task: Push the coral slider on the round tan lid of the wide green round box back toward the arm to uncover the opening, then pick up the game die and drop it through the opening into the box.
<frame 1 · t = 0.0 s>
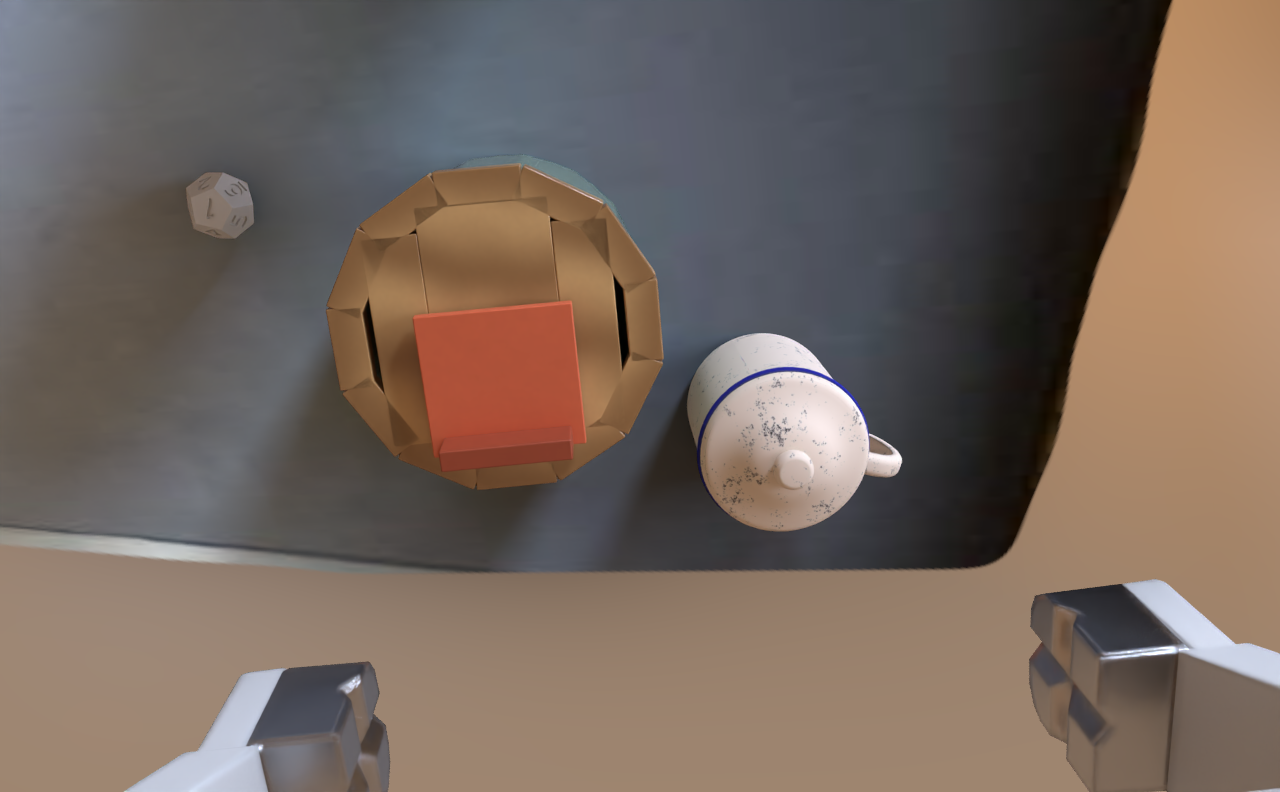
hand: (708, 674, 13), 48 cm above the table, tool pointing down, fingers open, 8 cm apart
teacup with lid: (780, 405, 63), on the table
slider: (500, 386, 47), point 14 cm above the table, slide at 0.0 cm
round tan lid: (498, 332, 49), on the green round box, point 11 cm above the table
green round box: (513, 283, 60), on the table
game die: (230, 201, 58), on the table
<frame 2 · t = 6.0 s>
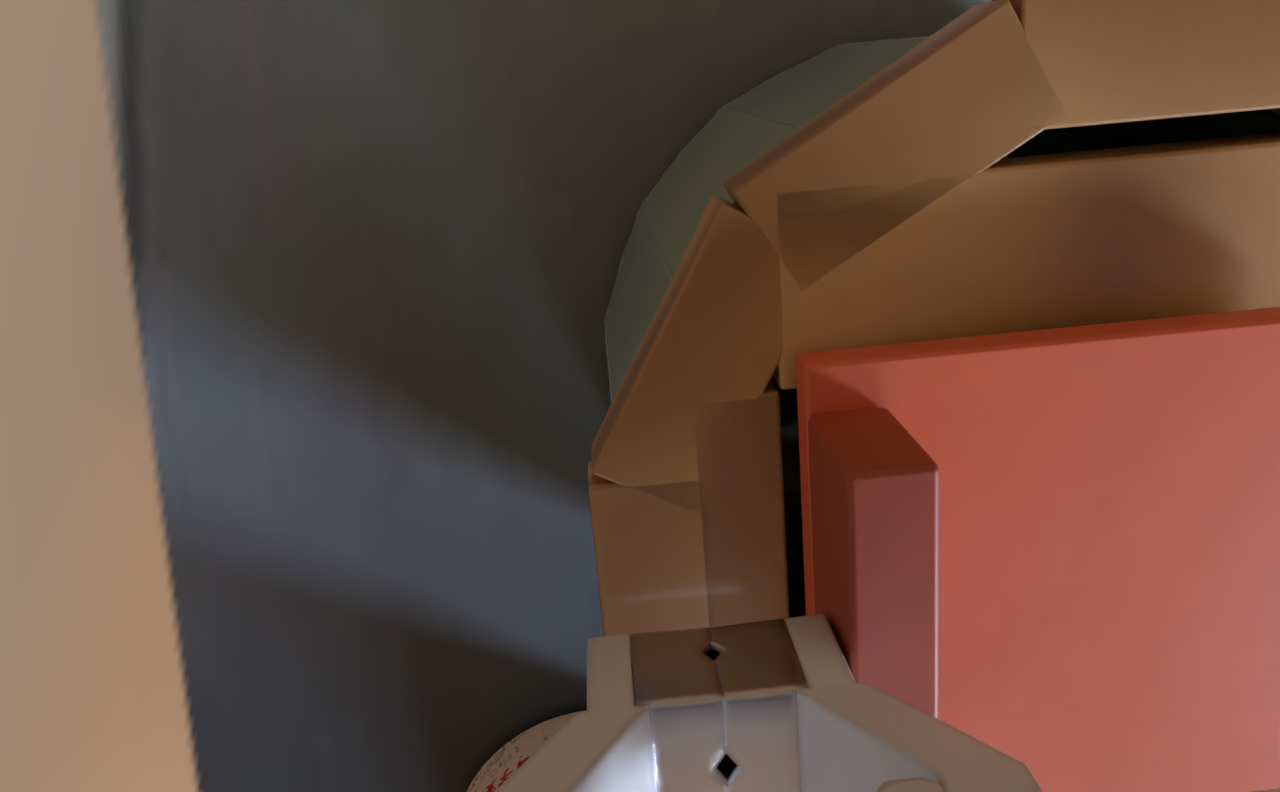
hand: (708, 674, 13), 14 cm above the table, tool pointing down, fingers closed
slider: (1097, 631, 13), point 14 cm above the table, slide at 0.6 cm, touching gripper
round tan lid: (1127, 545, 15), on the green round box, point 11 cm above the table
green round box: (896, 343, 26), on the table
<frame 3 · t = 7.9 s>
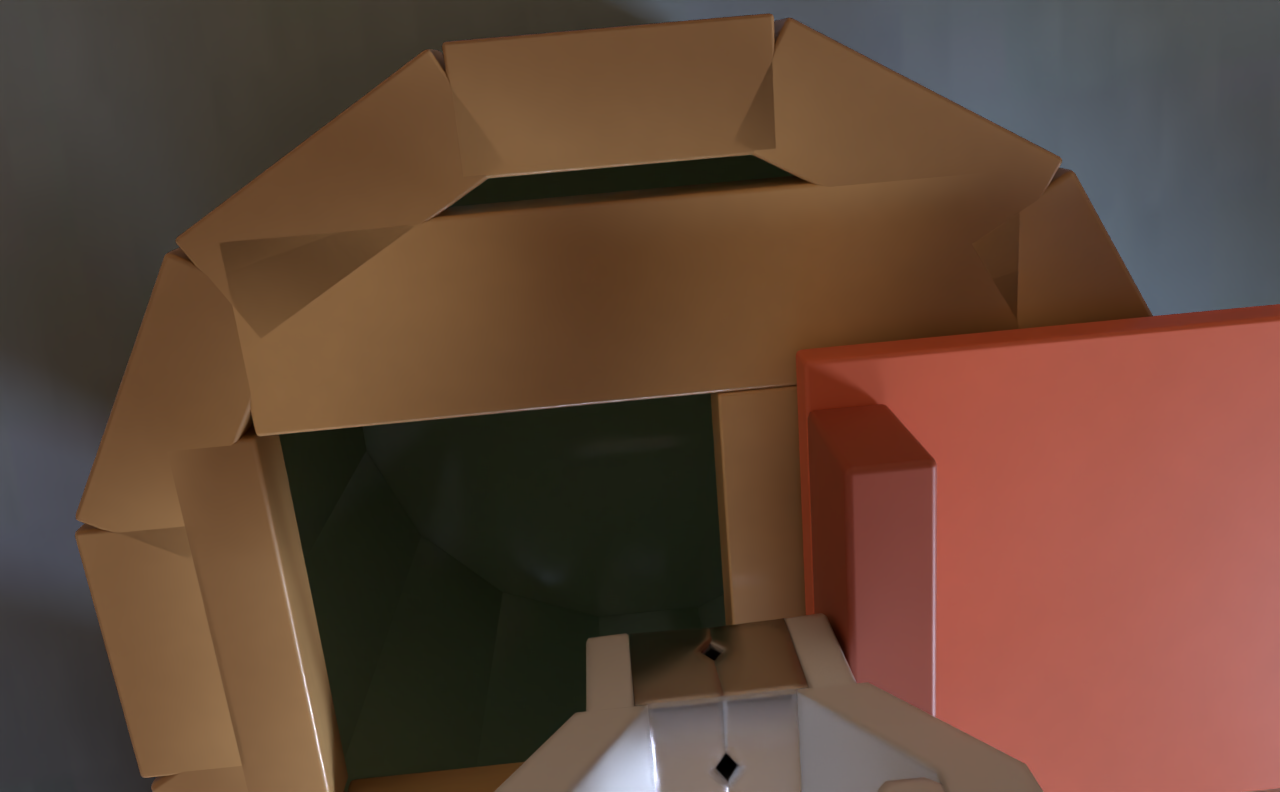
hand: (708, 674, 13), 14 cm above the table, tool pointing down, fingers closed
slider: (1094, 626, 13), point 14 cm above the table, slide at 7.4 cm, touching gripper
round tan lid: (656, 588, 15), on the green round box, point 11 cm above the table
green round box: (625, 367, 26), on the table
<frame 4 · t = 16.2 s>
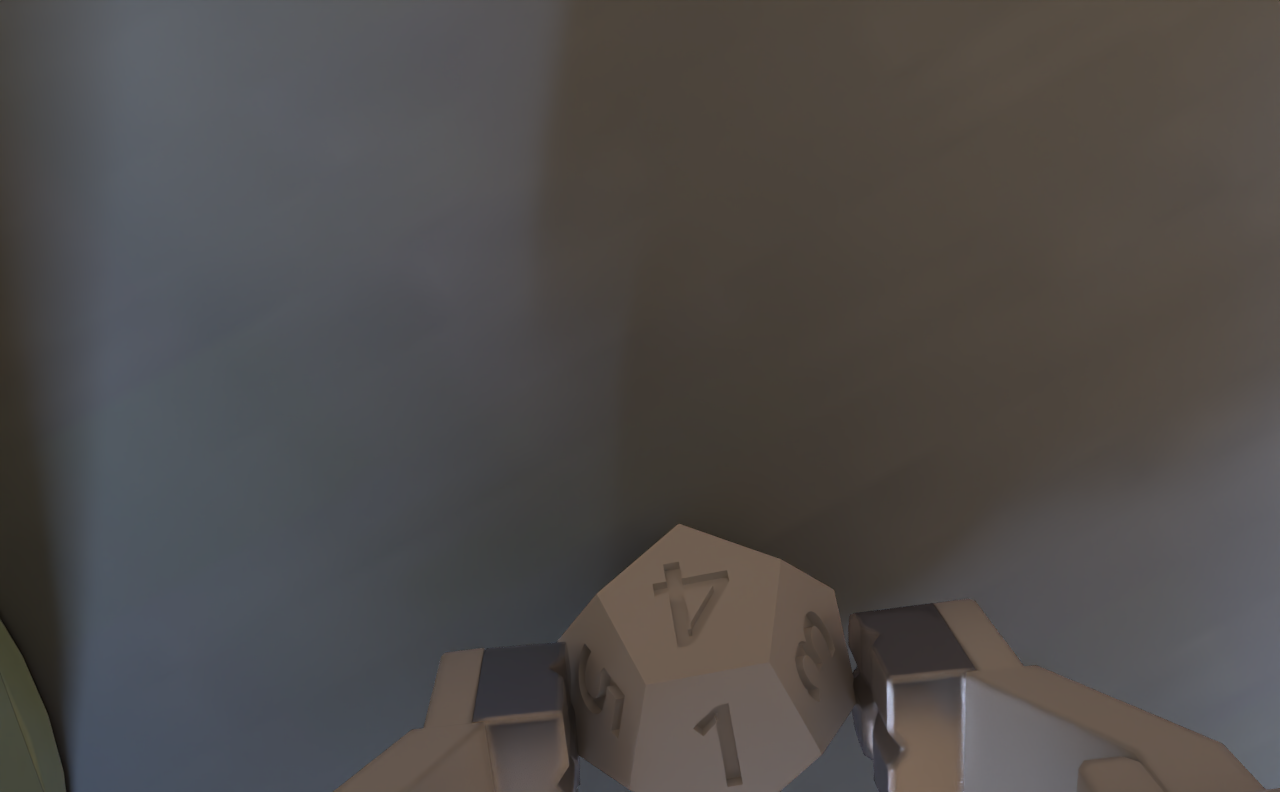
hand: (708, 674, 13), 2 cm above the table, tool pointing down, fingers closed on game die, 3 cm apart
game die: (692, 602, 15), on the table, touching gripper
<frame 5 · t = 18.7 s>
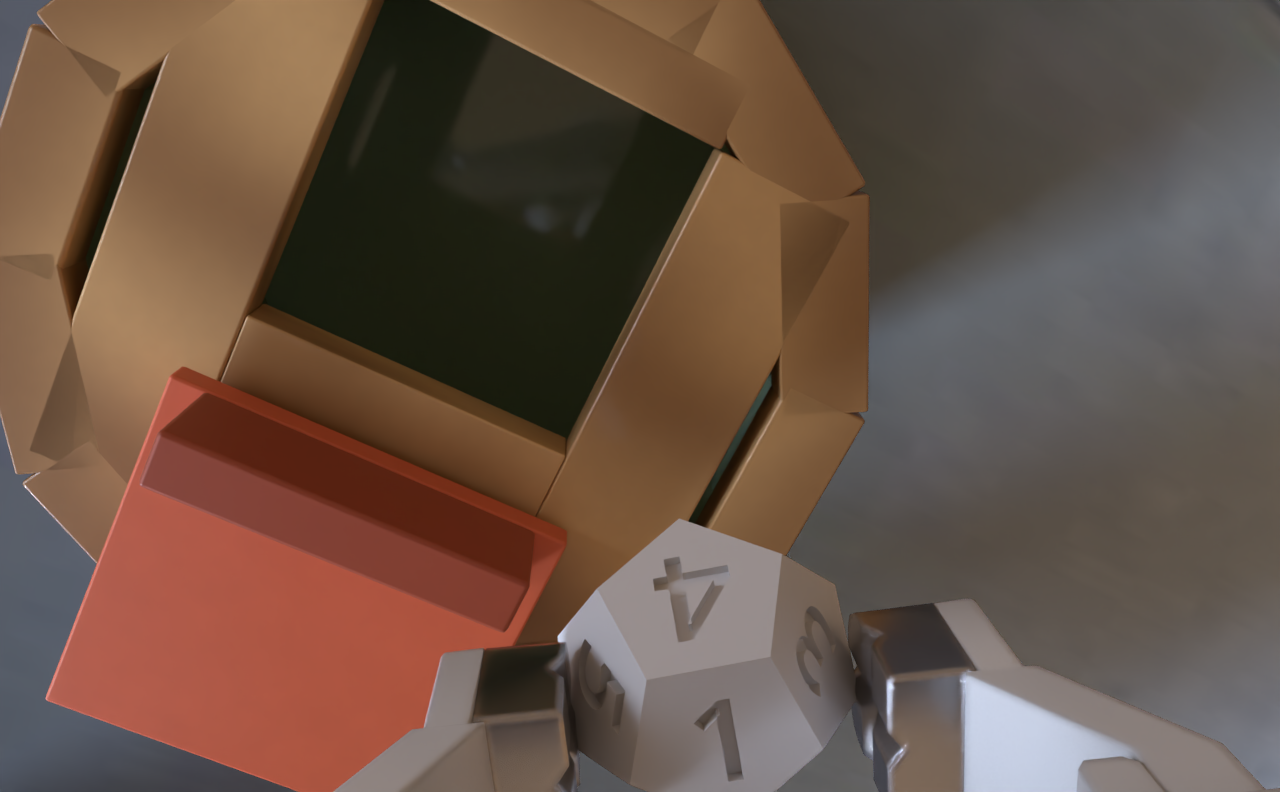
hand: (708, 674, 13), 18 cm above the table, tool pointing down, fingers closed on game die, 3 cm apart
slider: (292, 644, 18), point 14 cm above the table, slide at 7.6 cm
round tan lid: (437, 330, 18), on the green round box, point 11 cm above the table
green round box: (492, 231, 29), on the table
game die: (692, 598, 14), point 17 cm above the table, touching gripper
when the fingers open (12 cm above the table, at t = 21.4 s): game die drops 6 cm, point 5 cm above the table.
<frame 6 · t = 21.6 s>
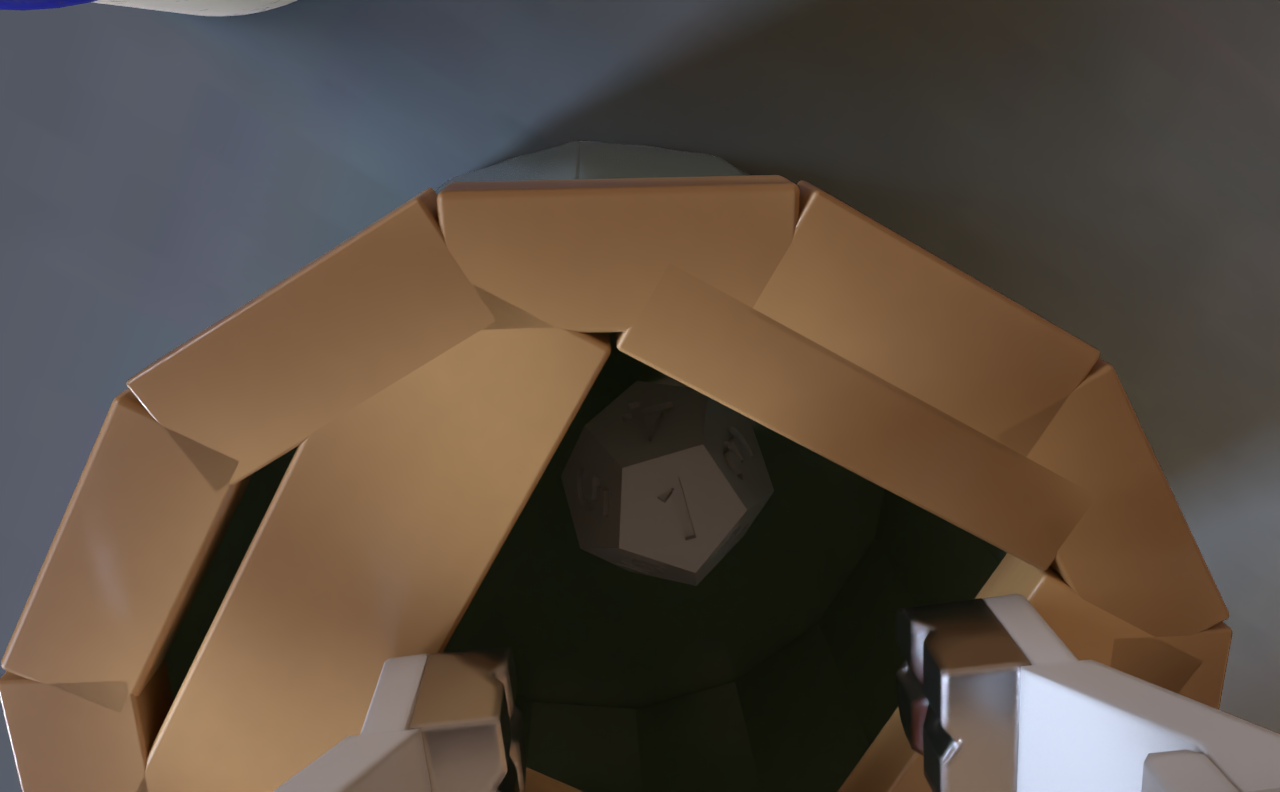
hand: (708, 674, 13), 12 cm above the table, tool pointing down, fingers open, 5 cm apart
round tan lid: (631, 763, 14), on the green round box, point 11 cm above the table
green round box: (611, 453, 25), on the table
game die: (656, 459, 20), point 5 cm above the table
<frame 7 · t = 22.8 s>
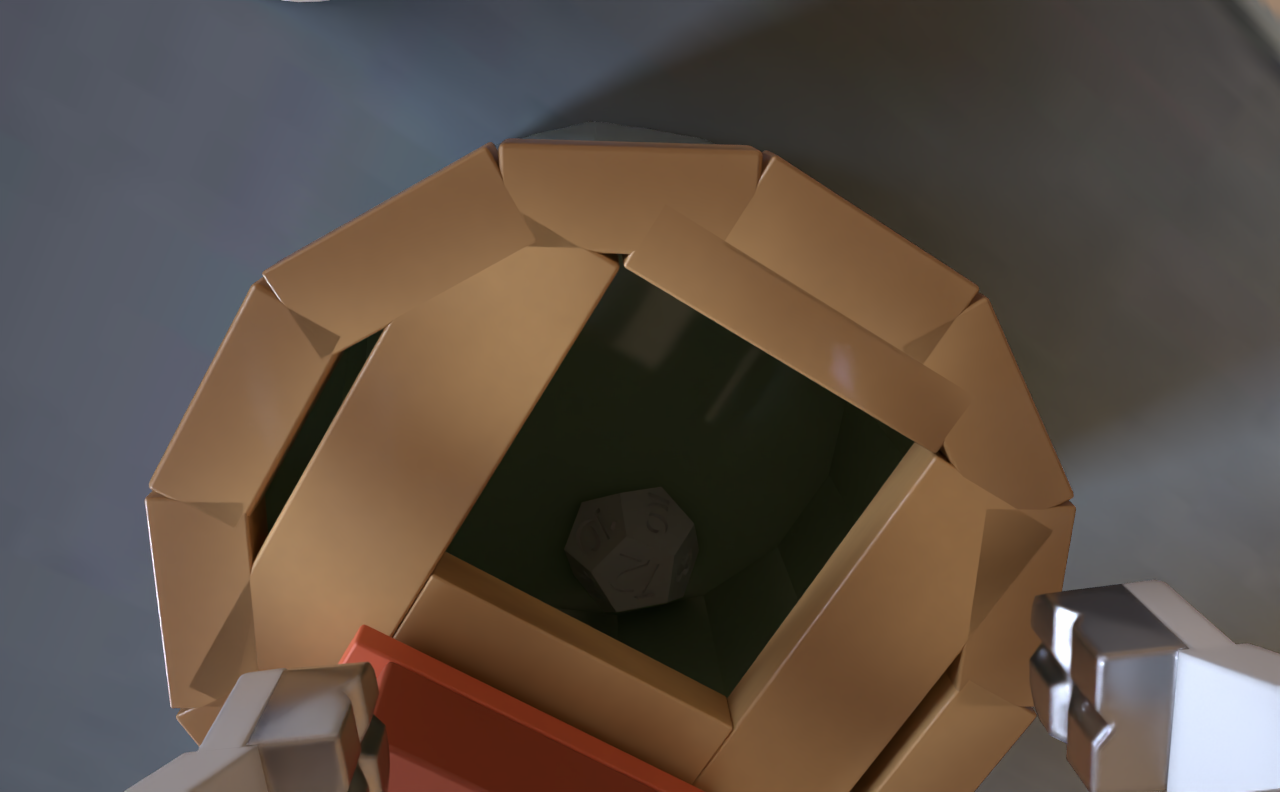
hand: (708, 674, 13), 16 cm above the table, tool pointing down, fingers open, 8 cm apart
round tan lid: (618, 594, 18), on the green round box, point 11 cm above the table
green round box: (606, 391, 29), on the table
game die: (635, 579, 27), point 4 cm above the table, touching green round box
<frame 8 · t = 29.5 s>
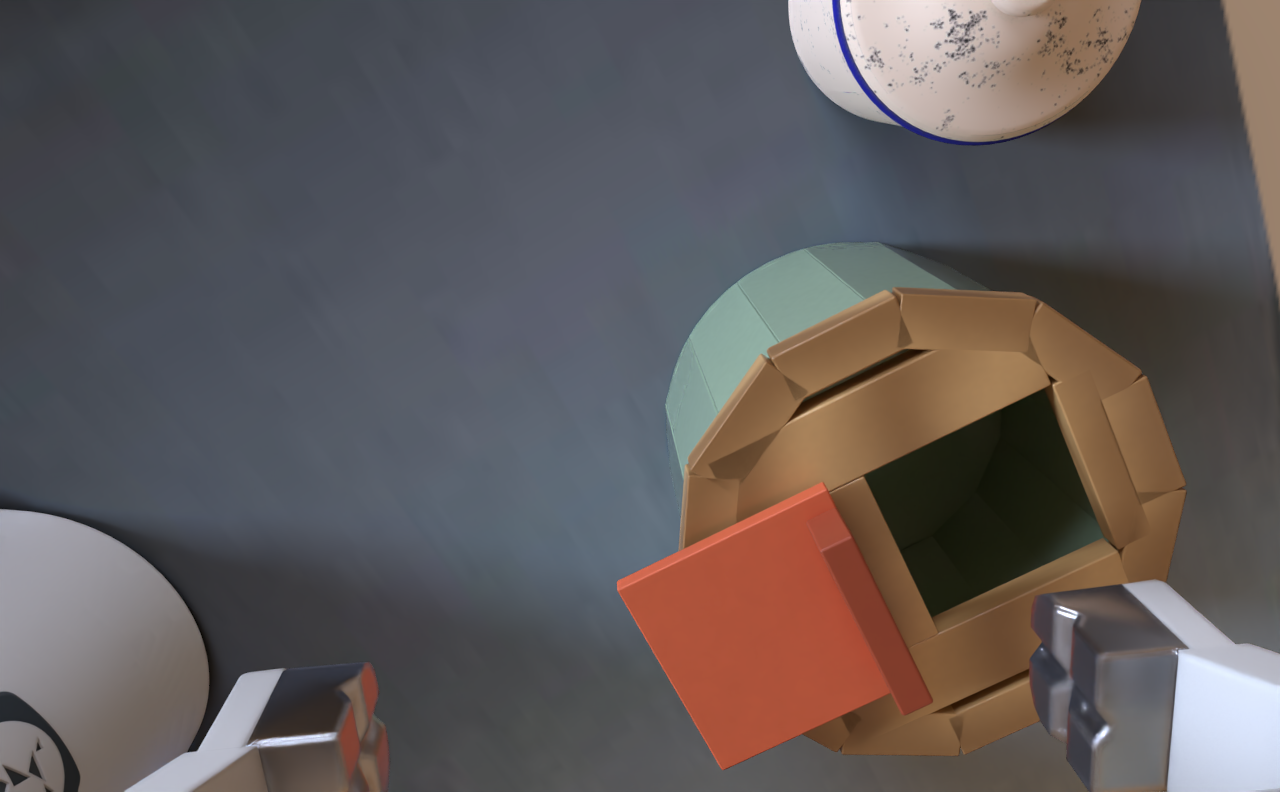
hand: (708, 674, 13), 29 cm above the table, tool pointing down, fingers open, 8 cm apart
slider: (776, 648, 31), point 14 cm above the table, slide at 7.6 cm
round tan lid: (927, 535, 32), on the green round box, point 11 cm above the table
green round box: (839, 415, 43), on the table
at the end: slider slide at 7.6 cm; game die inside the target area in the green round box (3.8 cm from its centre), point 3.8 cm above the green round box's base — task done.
